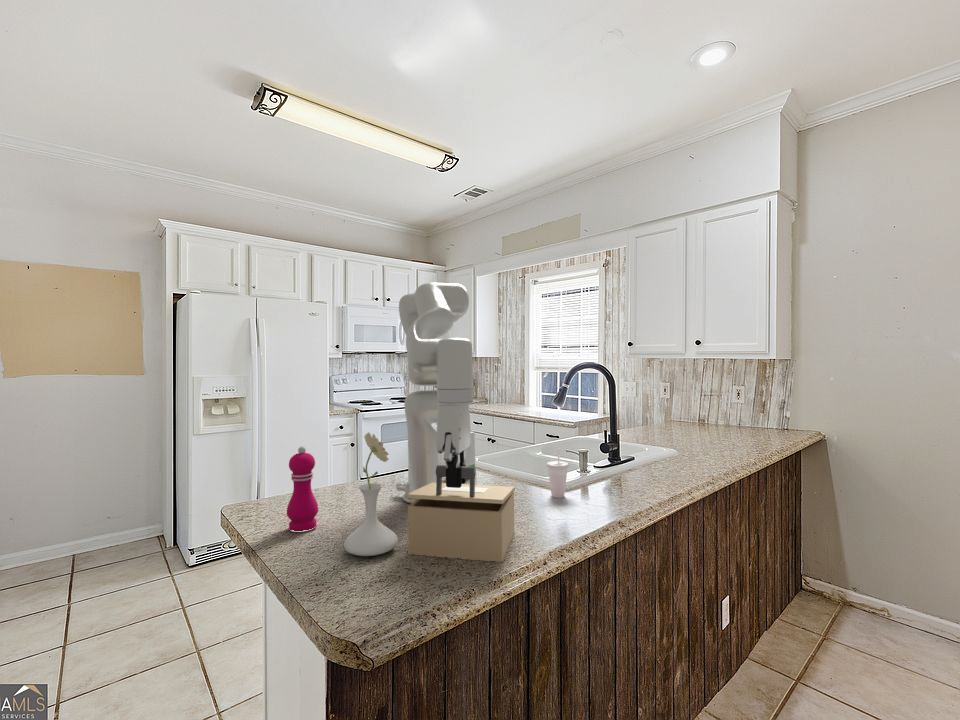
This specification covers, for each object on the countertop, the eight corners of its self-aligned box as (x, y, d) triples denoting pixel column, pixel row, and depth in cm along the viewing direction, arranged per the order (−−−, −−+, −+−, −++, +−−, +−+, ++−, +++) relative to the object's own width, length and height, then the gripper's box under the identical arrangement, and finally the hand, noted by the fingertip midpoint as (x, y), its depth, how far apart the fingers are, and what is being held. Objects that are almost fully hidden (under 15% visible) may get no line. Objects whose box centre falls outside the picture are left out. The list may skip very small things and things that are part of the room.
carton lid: (406, 498, 99) (407, 464, 99) (431, 485, 114) (432, 457, 115) (502, 503, 94) (502, 468, 95) (514, 490, 110) (515, 460, 110)
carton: (408, 554, 99) (407, 506, 99) (433, 527, 114) (432, 486, 114) (502, 562, 94) (501, 512, 94) (514, 533, 110) (514, 490, 110)
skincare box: (462, 481, 157) (461, 434, 157) (446, 478, 161) (446, 433, 161) (476, 475, 164) (475, 431, 164) (460, 473, 168) (460, 429, 168)
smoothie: (573, 495, 139) (572, 448, 139) (561, 500, 135) (560, 451, 135) (555, 491, 144) (554, 445, 144) (542, 496, 139) (542, 449, 139)
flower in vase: (401, 557, 97) (400, 436, 97) (343, 565, 94) (342, 440, 94) (394, 535, 110) (393, 428, 109) (343, 540, 106) (342, 430, 106)
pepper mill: (288, 536, 110) (287, 450, 110) (285, 526, 116) (284, 445, 116) (320, 530, 113) (319, 447, 113) (316, 521, 119) (315, 442, 119)
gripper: (449, 394, 107) (450, 475, 107) (424, 400, 91) (425, 495, 91) (481, 394, 105) (482, 476, 105) (461, 400, 90) (463, 497, 90)
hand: (456, 484), depth 98 cm, fingers closed on carton lid, 2 cm apart
